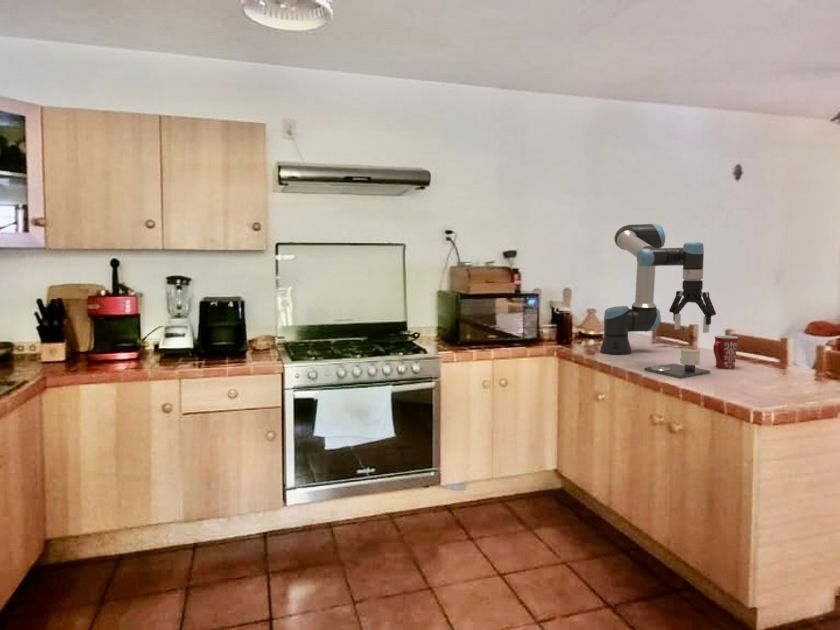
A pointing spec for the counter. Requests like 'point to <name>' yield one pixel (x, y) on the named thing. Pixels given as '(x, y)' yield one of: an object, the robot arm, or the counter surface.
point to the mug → (725, 351)
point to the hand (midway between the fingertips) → (691, 330)
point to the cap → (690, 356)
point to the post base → (677, 370)
